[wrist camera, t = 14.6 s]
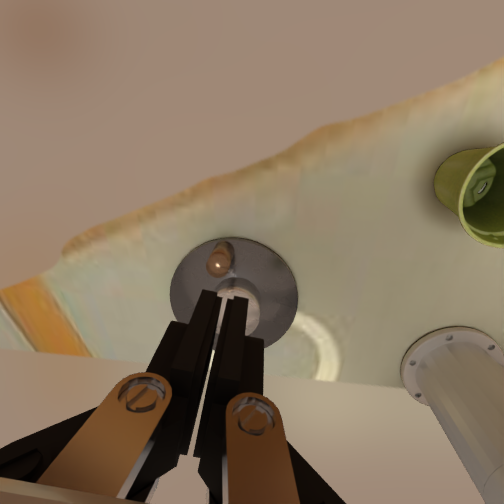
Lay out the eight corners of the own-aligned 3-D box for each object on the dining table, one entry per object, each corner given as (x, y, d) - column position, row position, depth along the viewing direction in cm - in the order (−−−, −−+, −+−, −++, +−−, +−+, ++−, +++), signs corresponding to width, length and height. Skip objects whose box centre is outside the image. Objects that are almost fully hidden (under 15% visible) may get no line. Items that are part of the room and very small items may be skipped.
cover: (243, 268, 38) (240, 283, 35) (269, 306, 40) (269, 324, 36) (203, 291, 40) (195, 308, 36) (230, 327, 41) (226, 346, 38)
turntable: (252, 212, 37) (249, 227, 31) (320, 316, 41) (327, 345, 36) (147, 277, 41) (127, 301, 35) (218, 366, 45) (210, 399, 39)
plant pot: (474, 234, 36) (532, 264, 28) (400, 204, 36) (437, 226, 28) (528, 154, 33) (611, 161, 25) (447, 119, 32) (506, 115, 24)
